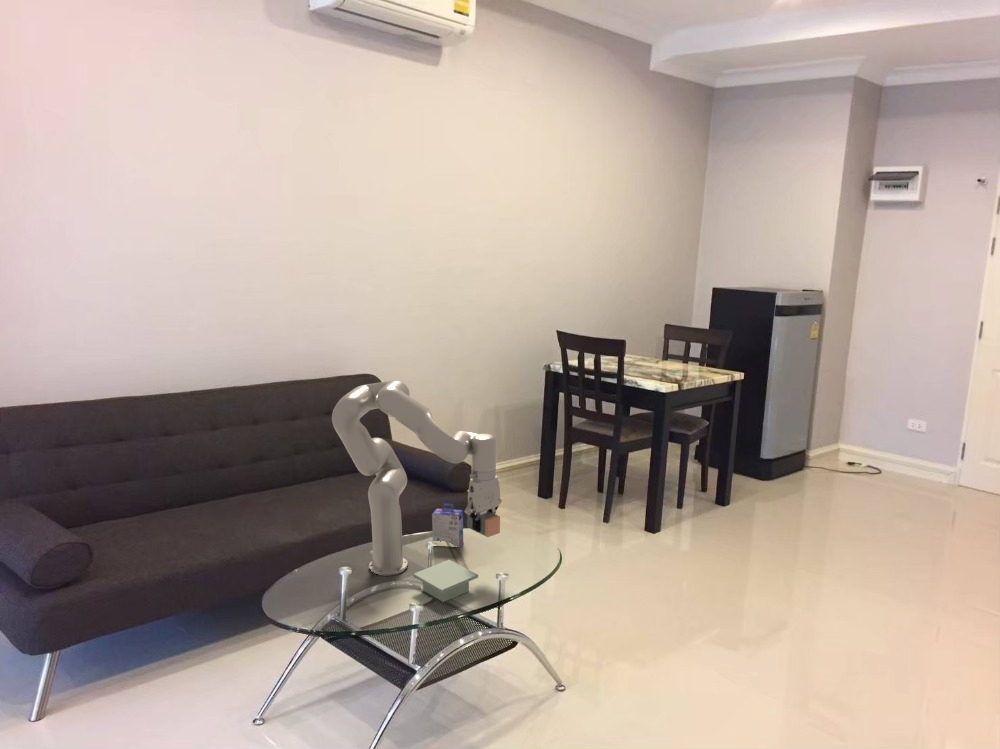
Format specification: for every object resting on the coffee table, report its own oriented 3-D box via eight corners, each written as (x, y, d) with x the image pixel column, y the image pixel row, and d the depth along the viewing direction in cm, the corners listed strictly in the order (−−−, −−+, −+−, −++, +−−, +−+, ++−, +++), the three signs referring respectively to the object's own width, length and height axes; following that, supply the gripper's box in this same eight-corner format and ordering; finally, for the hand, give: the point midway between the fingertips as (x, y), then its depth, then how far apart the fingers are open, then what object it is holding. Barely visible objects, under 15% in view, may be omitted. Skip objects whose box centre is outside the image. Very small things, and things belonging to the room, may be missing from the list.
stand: (413, 590, 248) (413, 573, 246) (449, 575, 257) (449, 559, 255) (442, 607, 237) (441, 590, 236) (478, 591, 247) (477, 574, 245)
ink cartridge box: (464, 542, 280) (463, 503, 277) (460, 549, 275) (459, 509, 272) (436, 540, 282) (435, 501, 279) (432, 546, 277) (431, 507, 274)
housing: (467, 527, 256) (467, 511, 255) (479, 522, 259) (479, 507, 258) (487, 537, 249) (488, 520, 248) (499, 532, 252) (500, 516, 251)
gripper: (470, 483, 241) (470, 539, 246) (511, 470, 253) (511, 524, 257) (454, 476, 247) (454, 531, 251) (495, 464, 258) (495, 517, 262)
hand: (483, 527), depth 254 cm, fingers closed on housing, 5 cm apart
